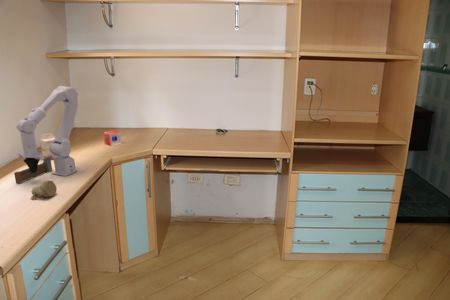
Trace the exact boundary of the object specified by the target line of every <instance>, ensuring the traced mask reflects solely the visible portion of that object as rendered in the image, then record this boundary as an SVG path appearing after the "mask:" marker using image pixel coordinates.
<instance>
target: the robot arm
mask: <svg viewBox="0 0 450 300" xmlns="http://www.w3.org/2000/svg"><path fill="white" fill-rule="evenodd" d="M78 96H79V93H78V91H77V90H76V89H75V88H74V86H65V85H64V86H63V85H57V87H56V88H55V89H53V90H52V92H51V94H50V95H49V96H48V97H47V98H46V99H45V101H43V103H42V104H41V105H40V106H39V107H34V108H31V110H30V112H29V113H28V114H27V115H26V116H23V117H24V118H23V119H20V120H19V121H18V122H17V126H16V130H17V131H19V134H20V139H21V145H22V150H23V151H21V152H18V153H17V154H18V155H17V156H18V158H21V157H22V158H23V162H24V163H25V164H26V166H27V167H28V168H29V169H30V171H31V173H35V172H37V166H38V165H39V162H40V161H43V159H45V157H44V155H42V153H39V152H38V147H37V141H36V136H35V135H36V134H35V132H36V130H37V126H38V124H39V123H40V122H41V121H42V120H43V119H45V117H46V113H47V112H48V111H49V110H50V109H51V108H52V107H53V106H55V104H57V103H58V102H63V104H64V106H65V108H64V112H63V116H62V119H61V122H60V126H59V130H58V132H57V136H55V137H56V138H54V140H53V142H52V144H51V145H50V147H49V150H50V152H51V153H52V154H53V159H54V160H53V165H54V170H55V171H53V172H51V175H56V176H62V177H67V176H69V175H72V174H73V173H74V174H75V173H77V172H78V170H77V169H76V162H75V159H74V158H73V157H72V156H70V154H71V141H70V136H71V132H72V129H73V125H74V122H75V119H76V114H77V111H78V107H79V101H78Z"/></svg>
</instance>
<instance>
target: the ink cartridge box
mask: <svg viewBox="0 0 450 300" xmlns="http://www.w3.org/2000/svg"><path fill="white" fill-rule="evenodd" d="M39 136H40V137H39V138H40V140H39V142H40V146H41V152H42V153H41V154H42V155H44V157H46V156H49V157H51V158H50V159H51V161H54V159H53V154H52V153H51V152H50V150H49V147H50V145H51V144H52V142H53V140H54V138H56V137H57V136H55V132H49V133H43V134H40V135H39Z"/></svg>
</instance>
